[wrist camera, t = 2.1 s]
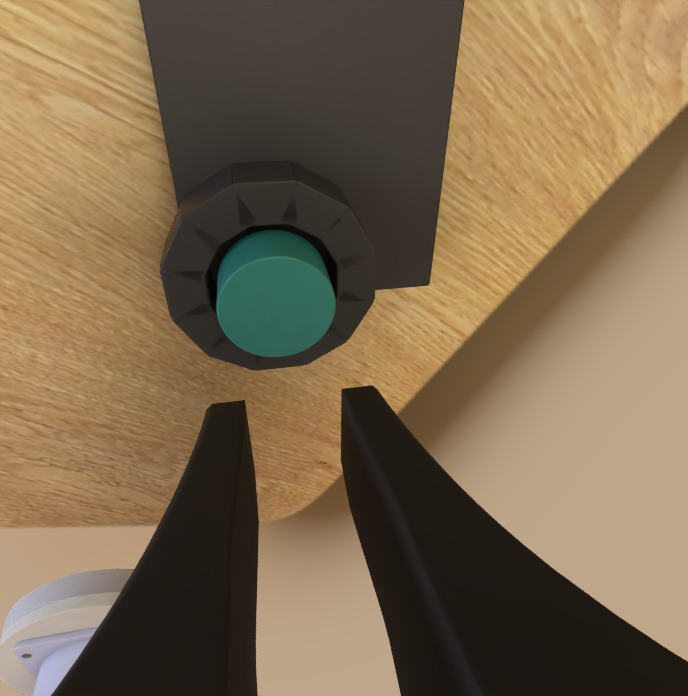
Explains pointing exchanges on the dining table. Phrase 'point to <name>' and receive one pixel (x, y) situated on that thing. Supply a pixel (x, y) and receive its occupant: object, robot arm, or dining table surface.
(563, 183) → the dining table surface
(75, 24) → the dining table surface
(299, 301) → the button
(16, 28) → the dining table surface
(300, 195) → the button block
